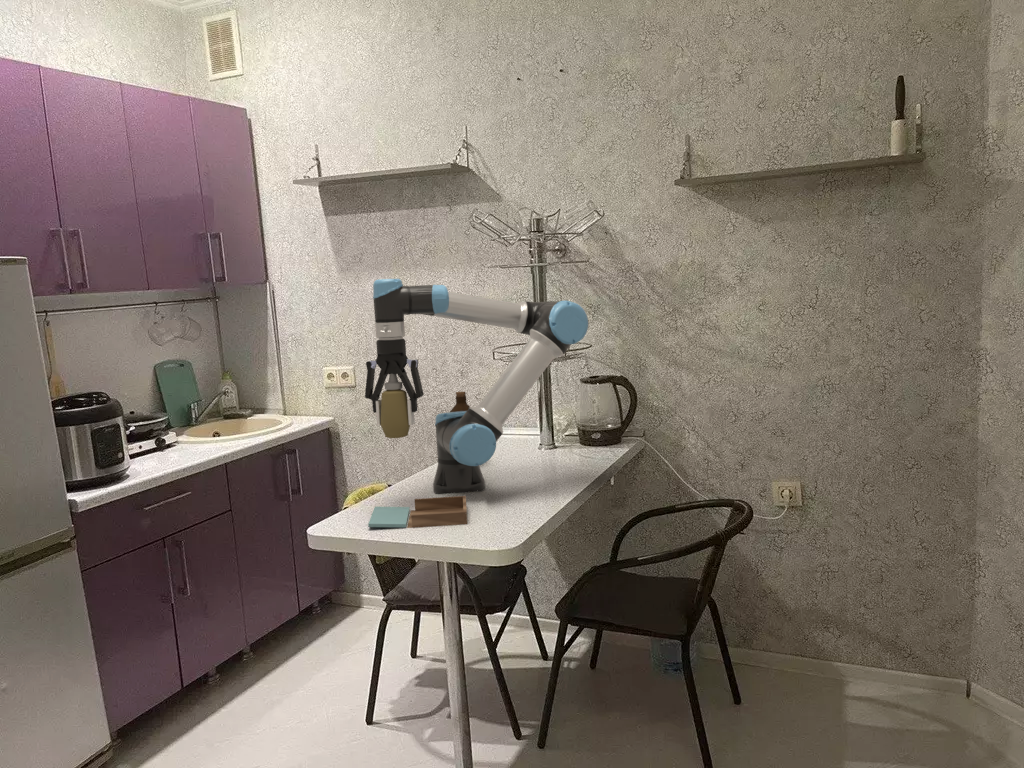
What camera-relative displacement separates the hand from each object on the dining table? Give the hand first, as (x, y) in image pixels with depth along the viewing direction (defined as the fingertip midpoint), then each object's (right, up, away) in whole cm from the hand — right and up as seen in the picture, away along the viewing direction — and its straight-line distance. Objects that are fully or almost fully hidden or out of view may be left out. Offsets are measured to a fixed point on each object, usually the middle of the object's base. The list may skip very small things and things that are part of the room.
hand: (396, 424), depth 202 cm
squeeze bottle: (0, -3, 0) cm, 3 cm away
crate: (+12, -24, -9) cm, 28 cm away
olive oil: (+15, -17, +50) cm, 55 cm away
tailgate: (+5, -23, -9) cm, 26 cm away
